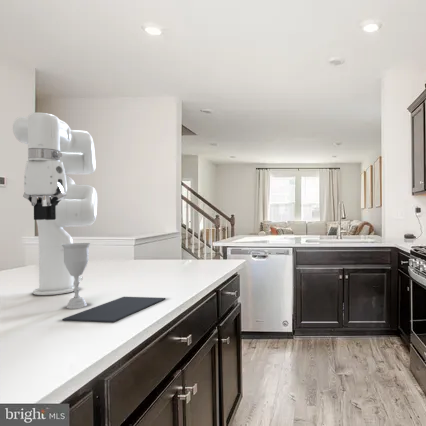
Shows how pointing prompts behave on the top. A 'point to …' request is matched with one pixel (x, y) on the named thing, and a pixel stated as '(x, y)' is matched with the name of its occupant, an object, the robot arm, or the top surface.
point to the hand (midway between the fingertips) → (44, 219)
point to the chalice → (76, 268)
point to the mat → (114, 309)
